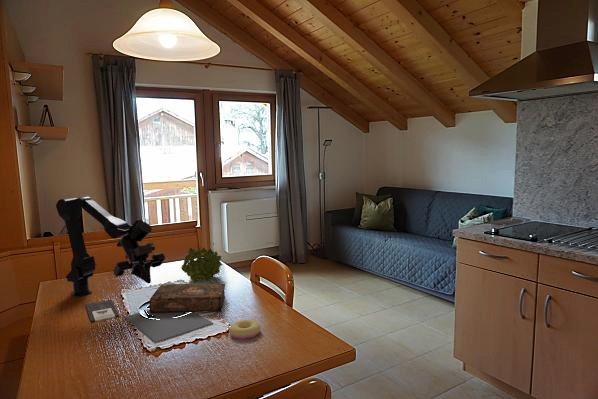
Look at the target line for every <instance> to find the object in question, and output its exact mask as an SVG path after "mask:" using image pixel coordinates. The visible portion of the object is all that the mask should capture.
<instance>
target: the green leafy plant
mask: <svg viewBox="0 0 598 399" xmlns="http://www.w3.org/2000/svg"><path fill="white" fill-rule="evenodd" d="M221 260H222V256H221V255H219V254H218V251H216V250H215V251H213V250H212V248H208V249H206V248H205V247H203V248H202V249H201V247H198V248H197V249H196V250H195V248H194V249H193V248H192V247H189V249H188V251H187V255H185V256H184V258H183V264H182V265H181V267H180V269H181V270H182V271H183V272H184V274H186V276H188V277H189V279H190V281H191V282H192V283H193V284H196V283H197V282H198V281H199V282H200V281H202V282H204V281H206V280H212V279H214V276H215V275H218V274H219V273H220V272H221V271H220V268H221V266H223V264H222V262H221Z"/></svg>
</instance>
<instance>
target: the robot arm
mask: <svg viewBox="0 0 598 399" xmlns="http://www.w3.org/2000/svg"><path fill="white" fill-rule="evenodd" d="M55 208H56V211H57V214H58V216H59V217H60V218H61V219H62V220H63V221H64V223H65V226H66V227H65V228H66V230H67V234H68V239H69V243H70V247H71V252H72V259H71V263H70V267H71V268H70V269H71V270H70V271H69V272H68V273H67V274H66V276H65V277H66V280H67V282H69V283H70V282H71V283H72V290H73V291H72V290H71V292H70V294H71V295H72V296H73V297H75V298H76V297H80V296H81V297H82V296H85V295H91V294H93V291H91V289H90V285H89V283H90V282H89V278H91V277H93V276H94V273H95V270H96V266H97V264H96V261H95V256H94V255H90V254H89V253H88V251H87V247H86V243H85V240H84V235H83V232H82V226H81V223H80V217H81V214H82V209H83V210H84V211H85V212H86V213H87V214H89V215H90V216H91V217H93V218H94V219H95V220H96V221H97V222H98V223H100V224H101V225H102V227H103V230H104V232H105V233H107V234H106V235H108V237H110V238H111V239H118V238H121V239H118V242H117V244H116V247H122V249H123V251H124V253H125V259H126V260H121V261H118V262H117V263H116V264H115V267H114V268H113V272H112V273H113V275H114V276H115V277H116V278H117V277H120V276H121V277H122V276H123V275H124V273H125V271H127V270H130V275H131V276H132V275H133V276H135V277H137V278H139V279H141V280H142V281H144V282H145V283H147V284H151V282H152V280H151V268H156V267H159V266H161V265H162V264H163V262H164V261H165V260H166V255H165V254H164V253H163V252H159V253H154V254H152V253H153V251H155V250H156V247H155V243H153V242H148V243H146V244H145V245H140V243H139V242H142V241H143V240H145V238H146V237H148V235H149V234H150V233H151V232H152V228H153V227H152V226H151V225H150V224H149V223H147V222H146V221H143V220H142V219H141V218H139V219H136V220H135V221H134V222H133V224H129V223H128V221H127V222H126V221H125V220H123V219H121V218H118V217H115V216H113V215H112V214H110V213H109V212H108V211H107V210H106V209H104V208H103V207H102V206H101V205H100V204H98V202H96V201H94V199H93V198H92V197H91V196H81V197H79V198H77V197H67V198H60V199H58V200H57V202H56V203H55ZM149 254H152V256H151V258H149V256H150V255H149ZM147 258H148V259H147ZM127 259H128V260H127Z"/></svg>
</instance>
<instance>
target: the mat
mask: <svg viewBox="0 0 598 399" xmlns="http://www.w3.org/2000/svg"><path fill="white" fill-rule="evenodd" d="M146 311H147V313H148V314H149V315H153V316H156V318H157V319H160V320H156V319H154V320H153V319H152V320H150V319H146V318H143V317H141V316H140V315H139V312H135V313H132V314H129V315H125V316H124V319H125V320H127V321H128V322H129V323H130V324H132V325H133V326H134V327H135V326H136V327H135V328H137V329H138V330H139V331H140V330H141V331H142V332H141V331H140V332H141V333H143V334H144V335H147V336H146V337H148V339H150V340H151V339H152V340H151V341H152V342H154V343H155V344H157V342H158V343H160V341H161V342H163V340H164V341H166V339H167V340H169V338H170V339H172V337H173V338H176V337H178V336H181V335H184V333H185V334H188V333H190V331H191V332H193V330H194V331H196V330H199V328H200V329H202V327H203V328H205V326H206V327H208V325H209V326H211V324H212V325H214V322H212V321H211V320H209V319H208V318H206V317H204V316H202V315H201V314H199V313H198V312H192V313H190V314H187V315H186V316H183V317H179V318H172V317H175V316H176V315H181V314H183V313H184V312H166V313H150V309H146ZM187 332H188V333H187Z"/></svg>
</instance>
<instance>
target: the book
mask: <svg viewBox="0 0 598 399" xmlns="http://www.w3.org/2000/svg"><path fill="white" fill-rule="evenodd" d="M225 286H226V284H225V283H170V284H169V283H167V284H160V285H159V286H158V288H157V289H156V290H155V291H154V293H153V294H152V296H151V297H150V298H149V309H148V310H150V313H166V312H195V313H215V312H216V313H217V312H221V313H222V311H223V307H224V303H225V300H226V296H225V294H226V293H225Z"/></svg>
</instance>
